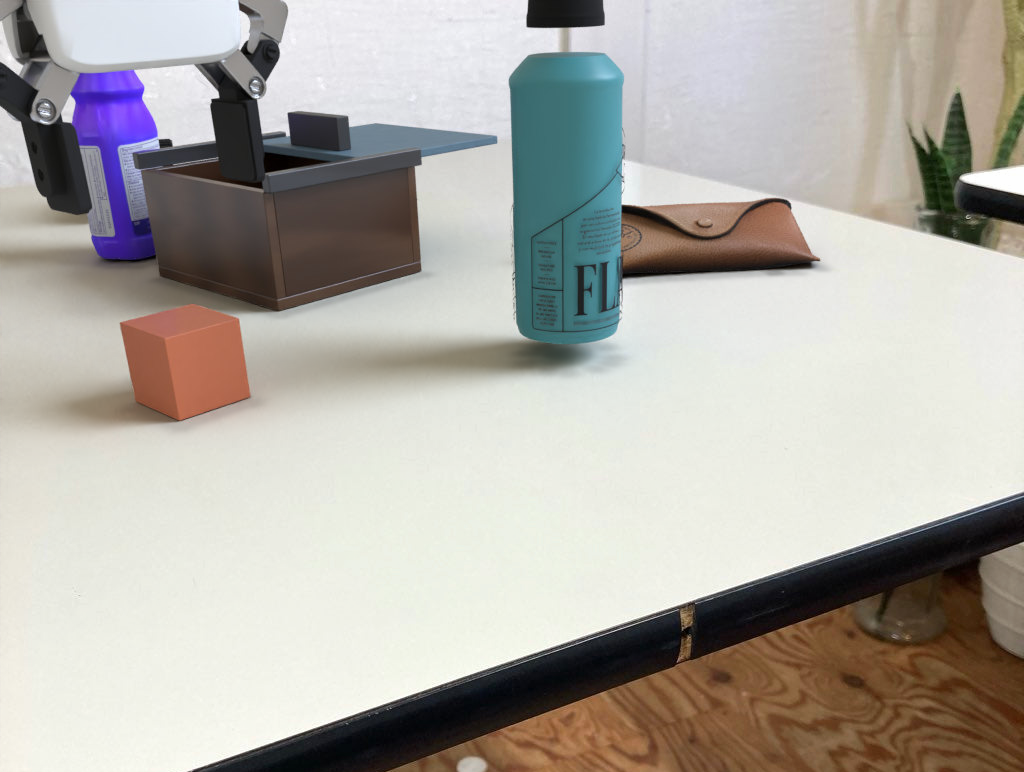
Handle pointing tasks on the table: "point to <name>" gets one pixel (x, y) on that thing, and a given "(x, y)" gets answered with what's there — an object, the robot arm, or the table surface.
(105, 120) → the bottle
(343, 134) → the lid
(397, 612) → the table surface
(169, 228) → the box
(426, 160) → the table surface
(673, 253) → the sunglasses case
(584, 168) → the beverage bottle
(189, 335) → the block
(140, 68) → the robot arm
